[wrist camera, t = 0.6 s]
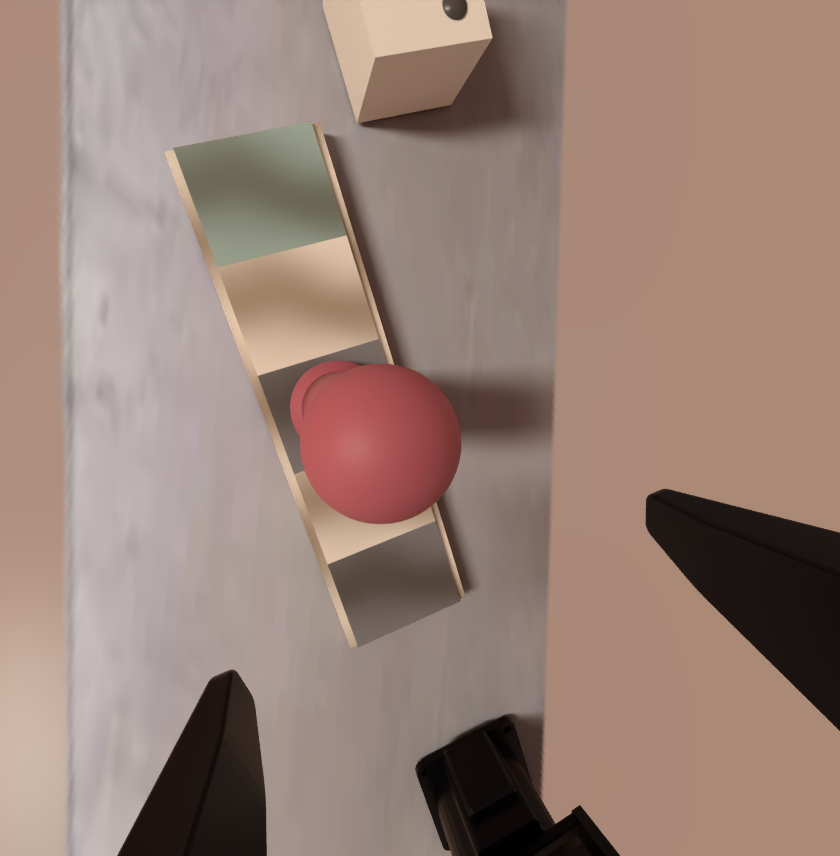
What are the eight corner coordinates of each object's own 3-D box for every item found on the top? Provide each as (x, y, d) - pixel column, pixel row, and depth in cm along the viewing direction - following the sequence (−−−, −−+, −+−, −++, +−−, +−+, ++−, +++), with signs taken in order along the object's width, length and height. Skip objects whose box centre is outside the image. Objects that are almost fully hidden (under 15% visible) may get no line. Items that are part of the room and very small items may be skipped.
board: (460, 590, 27) (466, 598, 26) (348, 639, 26) (351, 650, 25) (318, 130, 22) (319, 120, 21) (168, 160, 21) (163, 149, 20)
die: (451, 104, 23) (493, 37, 19) (356, 123, 22) (375, 56, 18) (422, -9, 22) (459, -113, 18) (322, 4, 21) (331, -102, 17)
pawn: (391, 433, 24) (516, 513, 11) (308, 463, 23) (333, 590, 10) (365, 349, 23) (465, 327, 10) (276, 376, 22) (259, 391, 9)
